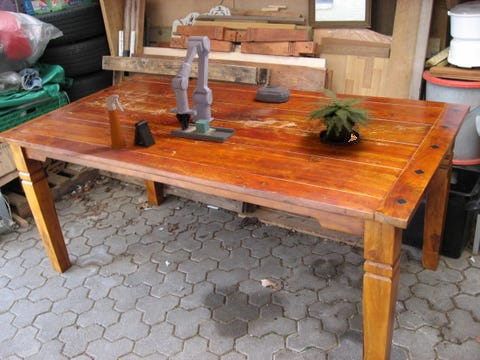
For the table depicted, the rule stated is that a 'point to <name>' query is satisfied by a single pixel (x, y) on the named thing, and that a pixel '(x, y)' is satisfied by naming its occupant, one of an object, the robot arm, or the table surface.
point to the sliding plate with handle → (194, 129)
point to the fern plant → (340, 120)
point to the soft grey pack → (273, 94)
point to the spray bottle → (115, 123)
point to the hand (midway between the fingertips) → (185, 127)
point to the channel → (218, 135)
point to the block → (202, 126)
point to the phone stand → (143, 135)
